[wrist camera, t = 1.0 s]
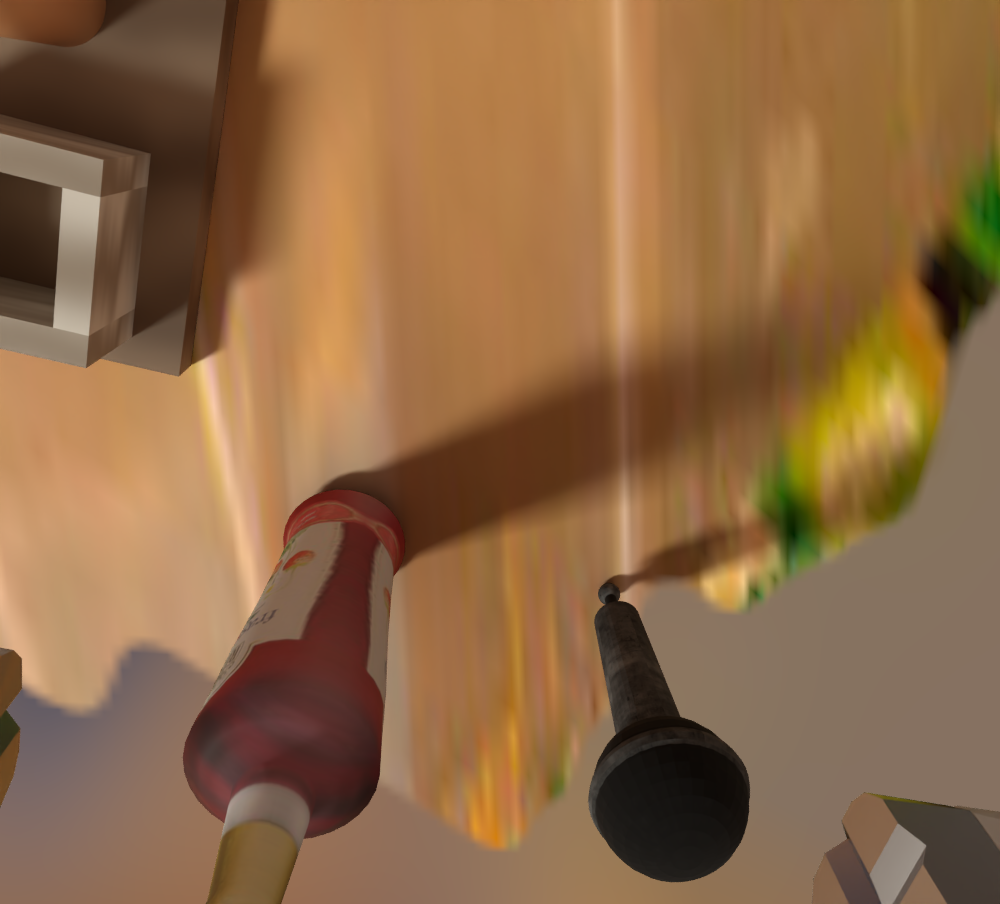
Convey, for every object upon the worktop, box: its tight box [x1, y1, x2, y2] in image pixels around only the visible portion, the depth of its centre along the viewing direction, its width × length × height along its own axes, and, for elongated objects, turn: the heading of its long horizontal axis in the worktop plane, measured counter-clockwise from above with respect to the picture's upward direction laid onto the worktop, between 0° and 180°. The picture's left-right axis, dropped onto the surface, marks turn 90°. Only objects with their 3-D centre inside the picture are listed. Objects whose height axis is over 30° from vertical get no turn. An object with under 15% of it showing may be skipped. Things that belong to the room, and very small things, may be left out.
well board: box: [0, 0, 238, 376], centre depth 37 cm, size 22×14×8 cm, turn 165°
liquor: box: [183, 490, 405, 904], centre depth 36 cm, size 7×7×28 cm
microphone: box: [588, 583, 750, 882], centre depth 42 cm, size 7×7×20 cm
